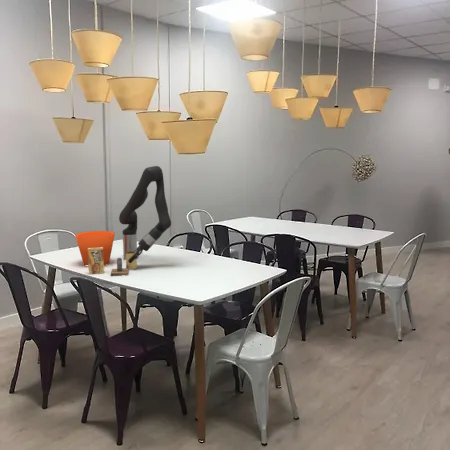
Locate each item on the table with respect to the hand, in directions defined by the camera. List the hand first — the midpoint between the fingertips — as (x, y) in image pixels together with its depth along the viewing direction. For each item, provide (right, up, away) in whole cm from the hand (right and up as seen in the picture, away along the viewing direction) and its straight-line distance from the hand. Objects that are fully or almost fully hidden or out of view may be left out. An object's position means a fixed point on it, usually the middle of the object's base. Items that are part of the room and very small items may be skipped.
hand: (129, 260), depth 304 cm
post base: (-3, -7, -12) cm, 14 cm away
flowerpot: (-24, -3, +14) cm, 28 cm away
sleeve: (+1, -5, +1) cm, 5 cm away
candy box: (-18, -7, -11) cm, 22 cm away
